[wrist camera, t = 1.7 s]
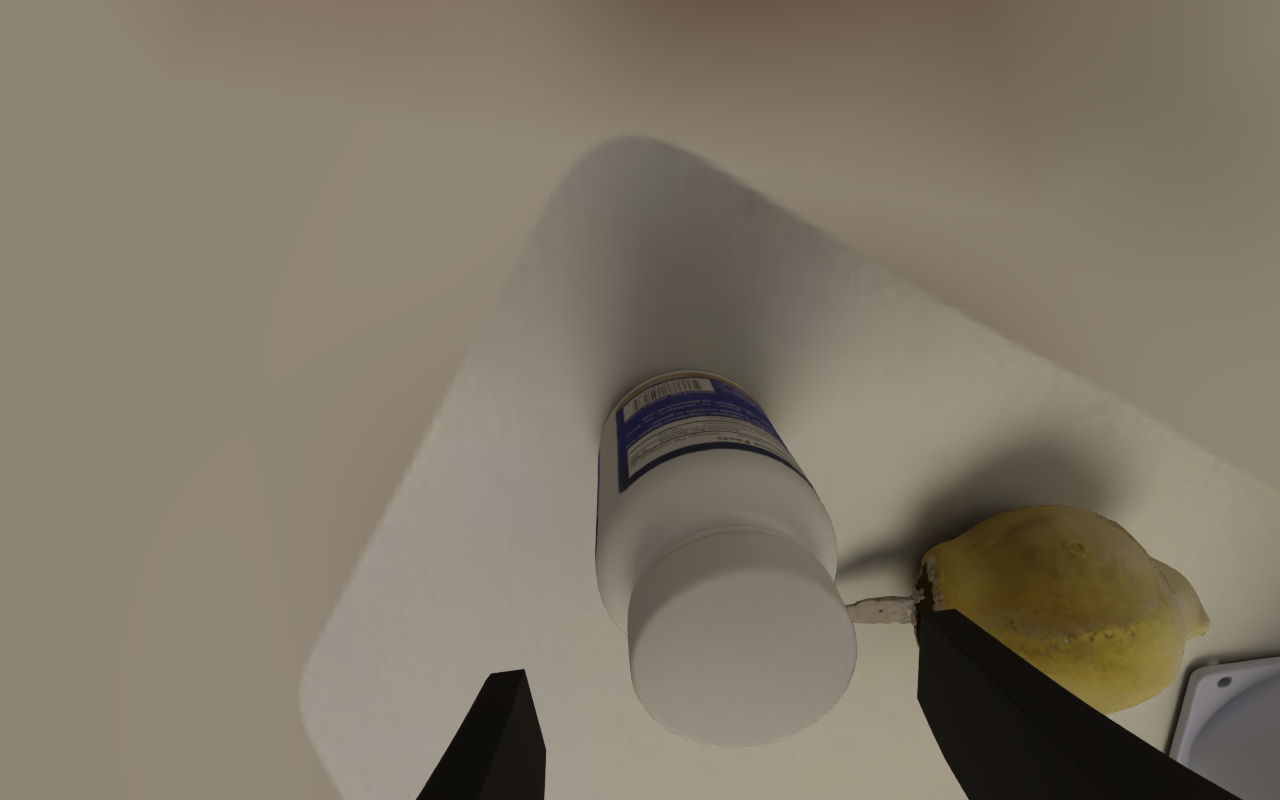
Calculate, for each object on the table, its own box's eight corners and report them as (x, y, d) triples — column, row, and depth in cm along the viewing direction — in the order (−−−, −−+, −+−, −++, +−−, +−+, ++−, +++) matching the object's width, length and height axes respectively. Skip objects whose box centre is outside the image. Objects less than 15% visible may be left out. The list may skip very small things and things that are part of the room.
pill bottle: (730, 537, 20) (815, 801, 12) (578, 494, 19) (552, 746, 11) (797, 395, 18) (952, 585, 10) (632, 341, 17) (652, 500, 9)
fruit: (804, 518, 20) (1144, 447, 18) (830, 612, 23) (1113, 561, 21) (853, 698, 15) (1313, 630, 13) (874, 779, 19) (1239, 735, 17)
